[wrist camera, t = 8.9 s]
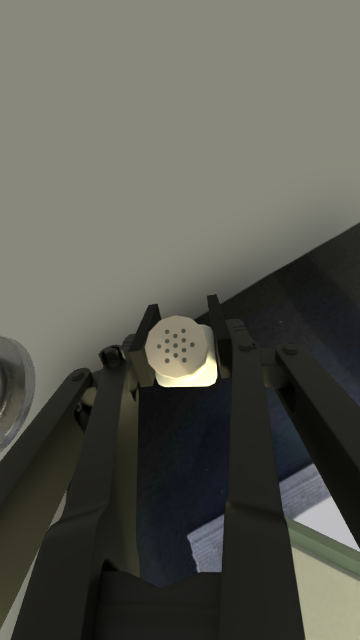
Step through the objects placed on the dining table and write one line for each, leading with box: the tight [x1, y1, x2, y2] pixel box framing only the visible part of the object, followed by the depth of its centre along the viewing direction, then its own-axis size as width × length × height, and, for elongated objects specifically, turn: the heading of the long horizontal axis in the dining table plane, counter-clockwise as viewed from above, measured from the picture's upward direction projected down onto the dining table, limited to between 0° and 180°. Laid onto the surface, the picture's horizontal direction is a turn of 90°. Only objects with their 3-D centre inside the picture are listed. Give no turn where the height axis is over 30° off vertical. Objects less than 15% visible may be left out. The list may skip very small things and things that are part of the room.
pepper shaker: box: [145, 315, 217, 387], centre depth 14 cm, size 4×4×10 cm
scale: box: [285, 516, 360, 640], centre depth 19 cm, size 15×13×3 cm
